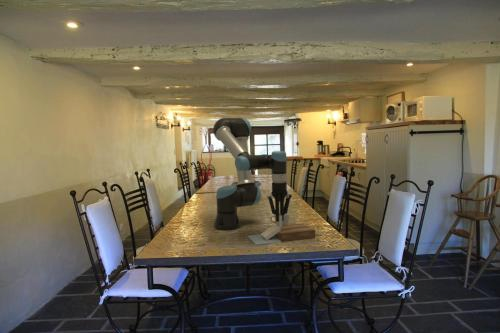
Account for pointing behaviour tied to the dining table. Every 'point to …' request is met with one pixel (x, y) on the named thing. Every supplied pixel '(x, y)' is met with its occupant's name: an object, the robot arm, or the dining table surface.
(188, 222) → the dining table surface
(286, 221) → the cup
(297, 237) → the block
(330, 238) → the dining table surface
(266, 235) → the beige flat block
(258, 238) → the mat
